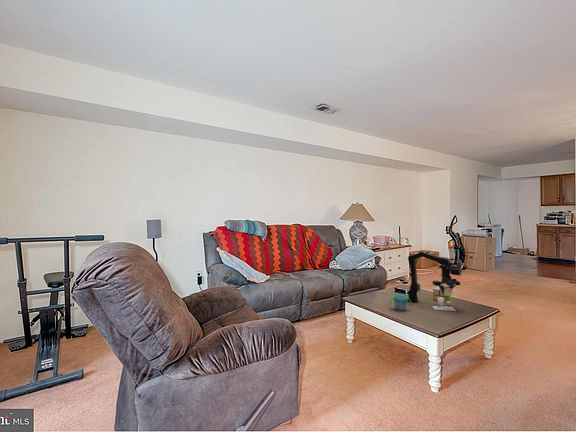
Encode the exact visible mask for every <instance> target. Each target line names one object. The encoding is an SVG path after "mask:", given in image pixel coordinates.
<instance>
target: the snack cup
mask: <svg viewBox="0 0 576 432" xmlns="http://www.w3.org/2000/svg"><path fill="white" fill-rule="evenodd" d="M408 299H409V298H408V296H406V295H403V294H395V295H393V296H392V297H391V298H390V299H389V304H390V305H392V300H393V302H394V309H395V310H396V311H399V312H402V311H404V312H405V311H406V309H407V303H408ZM409 300H410V299H409ZM409 307H412V302H411V300H410V302H409Z"/></svg>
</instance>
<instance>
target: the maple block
mask: <svg viewBox="0 0 576 432" xmlns="http://www.w3.org/2000/svg"><path fill="white" fill-rule="evenodd" d="M443 290H444V294H442V295H444V296H450V297H452V292H451V288H450V287H449V286H444V287H443Z"/></svg>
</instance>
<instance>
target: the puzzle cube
mask: <svg viewBox="0 0 576 432" xmlns="http://www.w3.org/2000/svg"><path fill="white" fill-rule="evenodd" d="M432 293H433V295H432V297H433V298H432V299H433V301H435V302H438V297H443V304H444V303H445V304H446V302H447V301H450V300H451V299H450V298H451V296H444V295H442V292H441V289H440V288H439V286H436V287H434V288H433V292H432Z"/></svg>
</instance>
